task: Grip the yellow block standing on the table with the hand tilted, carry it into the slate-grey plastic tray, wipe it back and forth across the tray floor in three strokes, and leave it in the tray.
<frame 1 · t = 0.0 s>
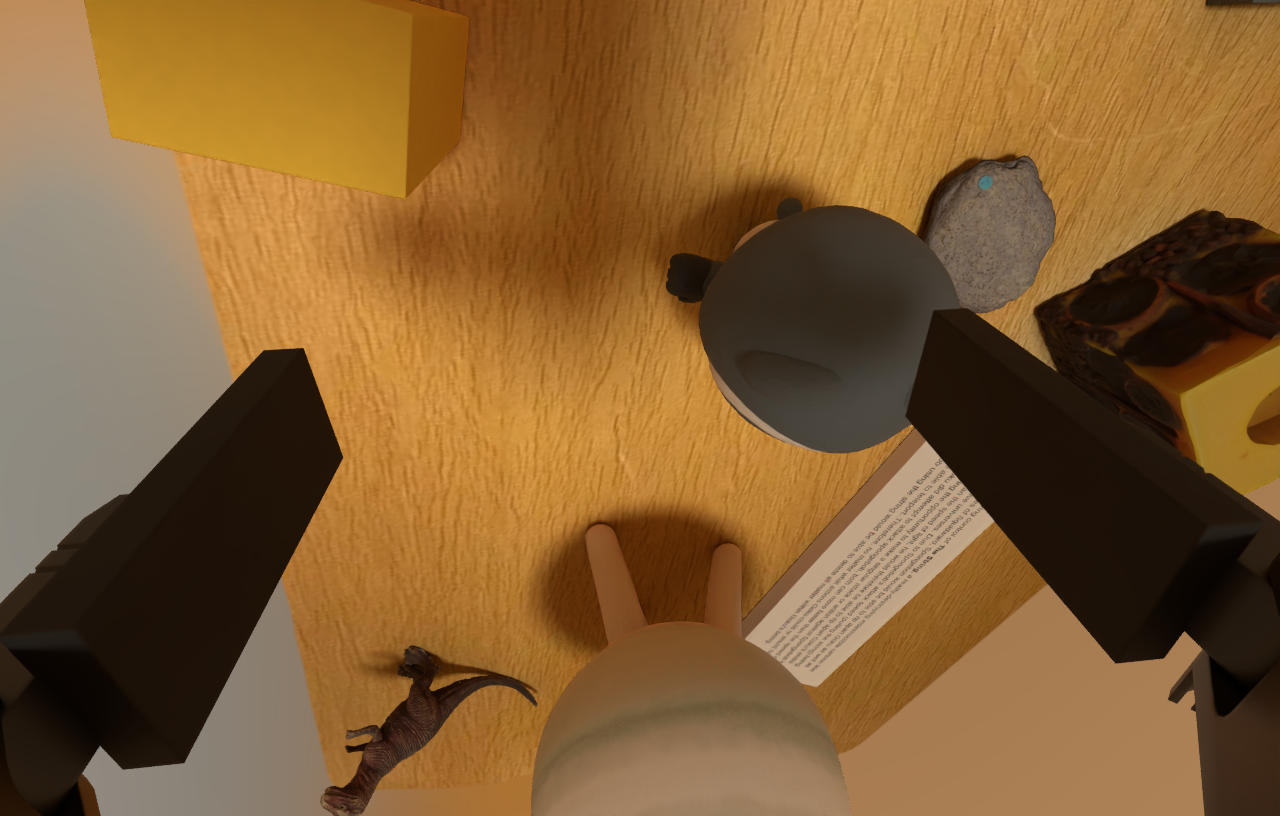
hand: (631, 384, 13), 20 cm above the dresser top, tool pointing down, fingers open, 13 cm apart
plaque: (877, 541, 46), on the dresser top
planter: (652, 564, 45), on the dresser top
dinosaur model: (459, 666, 49), on the dresser top
stone: (972, 231, 33), on the dresser top
toy: (757, 260, 33), on the dresser top
yellow block: (369, 57, 26), on the dresser top
candle: (1130, 318, 37), on the dresser top
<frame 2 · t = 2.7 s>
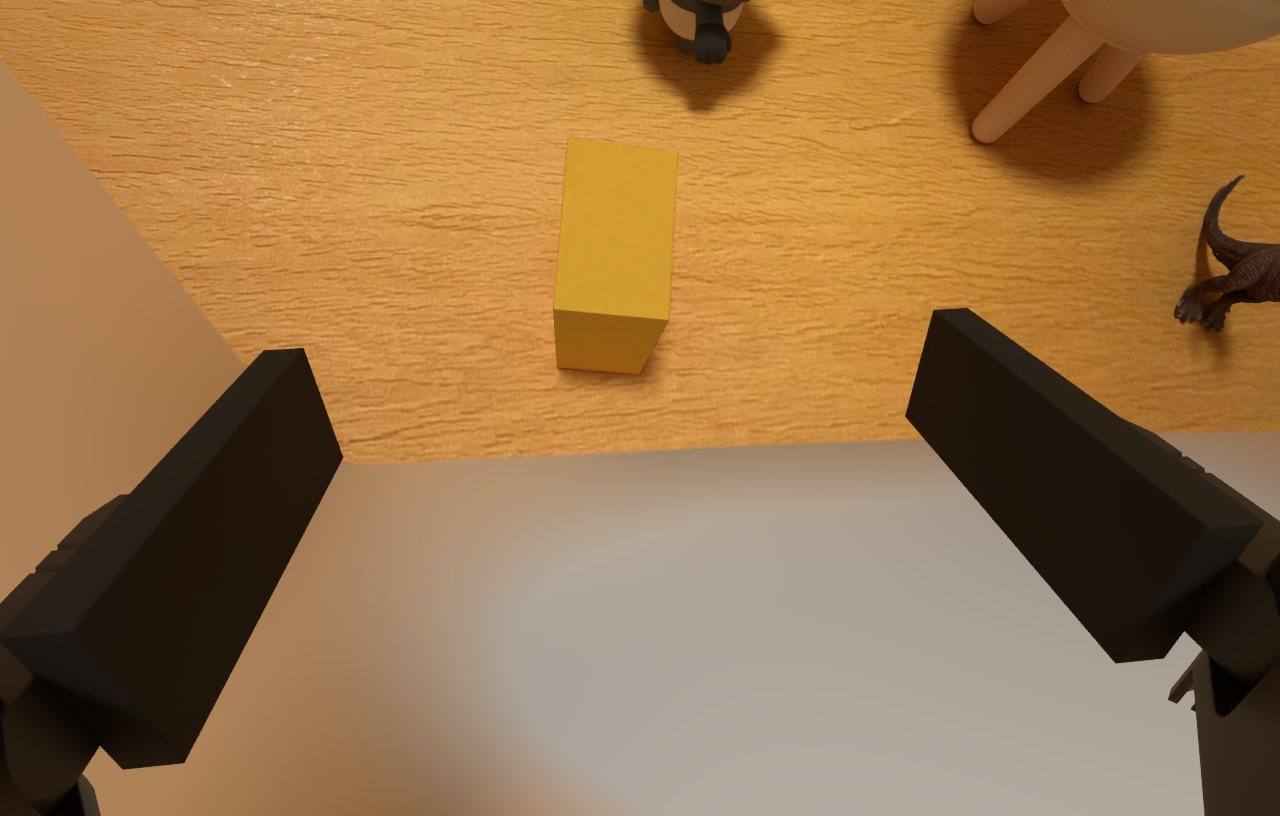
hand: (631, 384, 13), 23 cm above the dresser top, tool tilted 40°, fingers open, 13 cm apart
planter: (1014, 83, 44), on the dresser top
dinosaur model: (1198, 269, 43), on the dresser top
toy: (695, 37, 41), on the dresser top
yellow block: (602, 308, 37), on the dresser top
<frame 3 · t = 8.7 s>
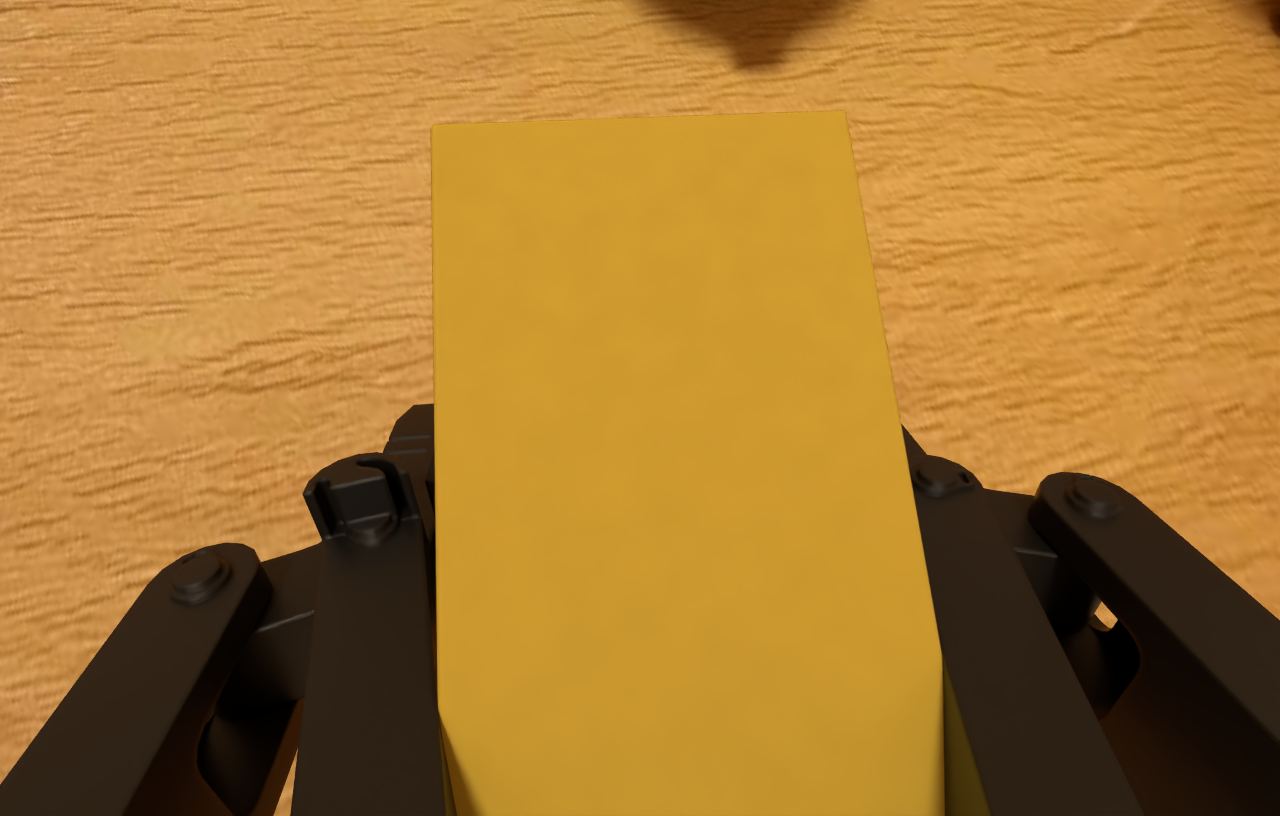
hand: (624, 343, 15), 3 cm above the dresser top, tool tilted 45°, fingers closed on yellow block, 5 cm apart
yellow block: (631, 504, 17), on the dresser top, touching gripper
when the fingers open (4 cm above the dresser top, at t = 25.9 s): yellow block stays where it is, resting on tray.
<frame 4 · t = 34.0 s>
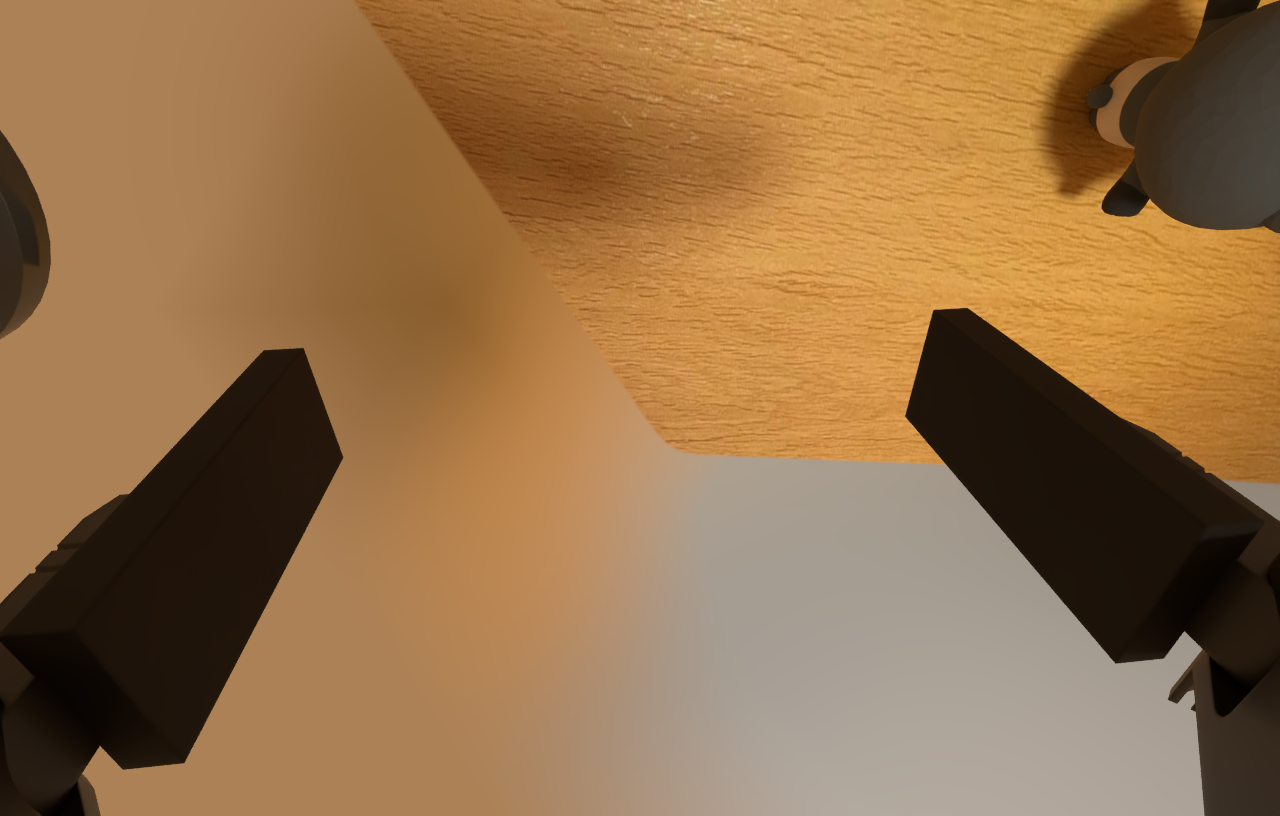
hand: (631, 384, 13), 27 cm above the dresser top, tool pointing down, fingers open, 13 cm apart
toy: (1113, 99, 37), on the dresser top
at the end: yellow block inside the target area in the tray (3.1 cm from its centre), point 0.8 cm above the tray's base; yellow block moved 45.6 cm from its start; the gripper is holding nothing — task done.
